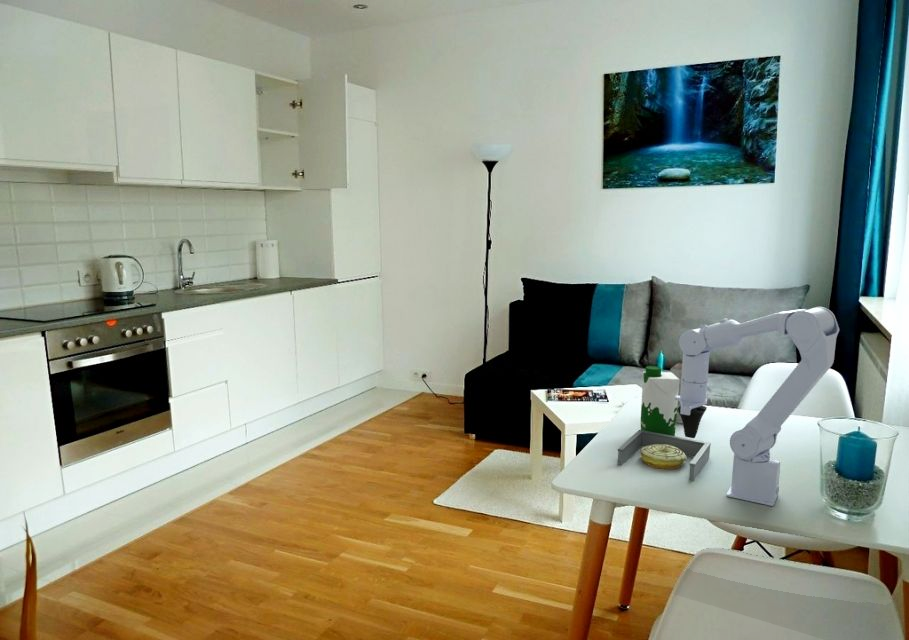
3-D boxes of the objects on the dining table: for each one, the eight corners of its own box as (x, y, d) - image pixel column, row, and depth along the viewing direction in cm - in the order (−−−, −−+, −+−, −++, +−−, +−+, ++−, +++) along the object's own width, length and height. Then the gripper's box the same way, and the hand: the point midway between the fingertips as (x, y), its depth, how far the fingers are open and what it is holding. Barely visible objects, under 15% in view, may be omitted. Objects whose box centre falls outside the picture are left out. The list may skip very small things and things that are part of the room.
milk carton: (636, 433, 189) (640, 363, 186) (669, 434, 189) (673, 364, 186) (644, 444, 181) (648, 371, 177) (678, 445, 180) (683, 371, 177)
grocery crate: (709, 458, 171) (710, 442, 171) (693, 481, 157) (695, 464, 156) (638, 444, 181) (639, 429, 180) (617, 464, 166) (617, 448, 166)
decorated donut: (694, 464, 168) (695, 450, 167) (668, 475, 161) (669, 459, 160) (658, 452, 176) (659, 438, 175) (632, 461, 169) (632, 447, 169)
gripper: (684, 371, 165) (680, 425, 167) (668, 384, 153) (664, 442, 155) (714, 375, 161) (710, 430, 163) (700, 389, 149) (696, 448, 151)
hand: (690, 436), depth 159 cm, fingers closed
